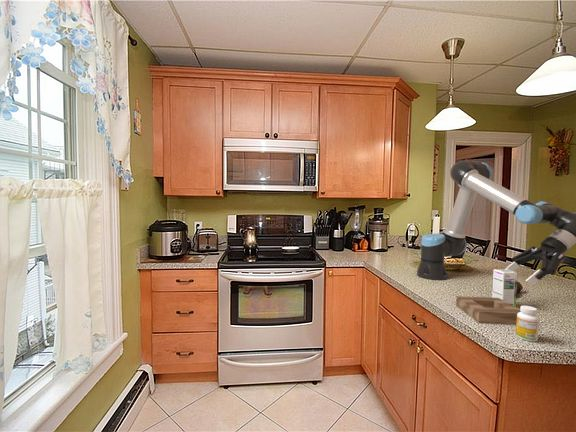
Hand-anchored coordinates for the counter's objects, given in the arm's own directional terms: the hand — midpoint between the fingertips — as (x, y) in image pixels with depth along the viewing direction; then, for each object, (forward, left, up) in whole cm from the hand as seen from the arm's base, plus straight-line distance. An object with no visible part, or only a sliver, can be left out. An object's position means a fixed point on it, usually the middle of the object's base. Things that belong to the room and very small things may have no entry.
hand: (515, 278), depth 118 cm
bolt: (-15, +8, -12) cm, 20 cm away
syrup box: (0, -4, -11) cm, 12 cm away
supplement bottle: (+29, -15, -11) cm, 35 cm away
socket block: (+11, -16, -11) cm, 22 cm away
